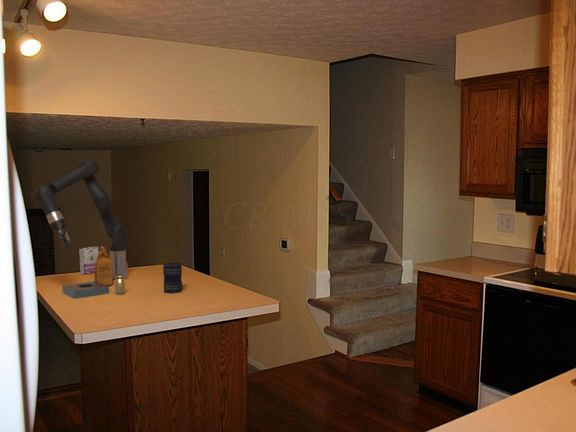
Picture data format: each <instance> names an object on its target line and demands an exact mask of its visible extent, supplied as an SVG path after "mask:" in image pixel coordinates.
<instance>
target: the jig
mask: <svg viewBox="0 0 576 432" xmlns="http://www.w3.org/2000/svg"><path fill="white" fill-rule="evenodd" d="M61 287H62V294H64V295H66V296H67V297H70V298H72V299H75V300H76V299H82V298H91V297H95V296H102V295H108V294H110V285H105V284H102V283H99V282H97V281H95V280H94V281H92V280H91V281H86V282H85V281H84V282H79V283H71V284H64V285H62V286H61Z"/></svg>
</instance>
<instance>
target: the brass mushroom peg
mask: <svg viewBox="0 0 576 432" xmlns="http://www.w3.org/2000/svg"><path fill="white" fill-rule="evenodd" d="M114 278H115V280H114V286H115V295H116V296H123V295H125V294H126V287H125V286H126V284H125V280H126V278H125V275H123V274H119V275H114Z"/></svg>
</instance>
